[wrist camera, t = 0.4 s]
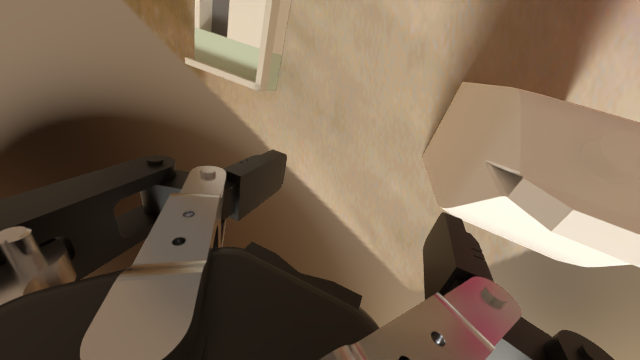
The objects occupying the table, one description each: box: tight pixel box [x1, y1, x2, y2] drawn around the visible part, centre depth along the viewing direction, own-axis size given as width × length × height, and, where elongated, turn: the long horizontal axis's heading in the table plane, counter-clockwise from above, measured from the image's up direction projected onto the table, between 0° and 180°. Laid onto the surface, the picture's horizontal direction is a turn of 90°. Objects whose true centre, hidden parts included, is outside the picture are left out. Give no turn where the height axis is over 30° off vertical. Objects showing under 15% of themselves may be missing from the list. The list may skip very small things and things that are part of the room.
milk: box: [422, 82, 640, 267], centre depth 21 cm, size 12×12×26 cm
